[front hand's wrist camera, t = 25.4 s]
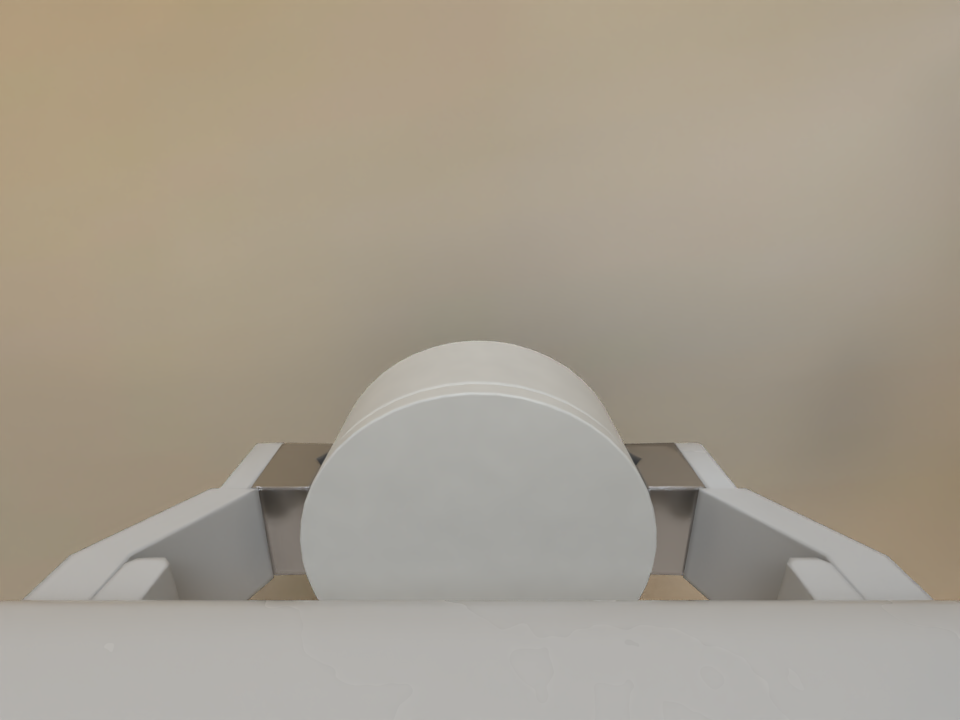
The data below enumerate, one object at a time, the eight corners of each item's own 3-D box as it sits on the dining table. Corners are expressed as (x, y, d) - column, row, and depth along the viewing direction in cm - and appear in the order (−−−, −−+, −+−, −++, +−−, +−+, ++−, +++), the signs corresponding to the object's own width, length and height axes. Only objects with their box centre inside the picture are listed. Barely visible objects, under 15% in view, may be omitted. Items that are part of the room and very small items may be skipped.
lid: (292, 387, 10) (236, 453, 7) (582, 301, 9) (617, 344, 7) (396, 605, 11) (376, 710, 9) (642, 545, 11) (684, 642, 9)
